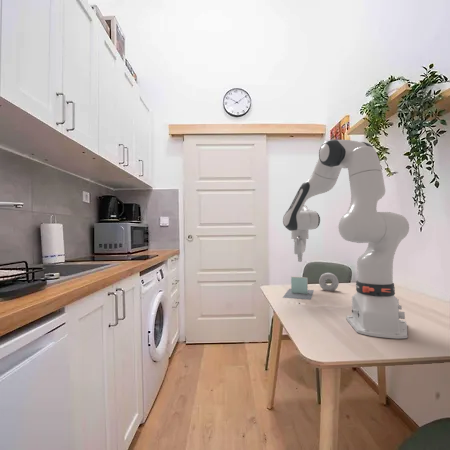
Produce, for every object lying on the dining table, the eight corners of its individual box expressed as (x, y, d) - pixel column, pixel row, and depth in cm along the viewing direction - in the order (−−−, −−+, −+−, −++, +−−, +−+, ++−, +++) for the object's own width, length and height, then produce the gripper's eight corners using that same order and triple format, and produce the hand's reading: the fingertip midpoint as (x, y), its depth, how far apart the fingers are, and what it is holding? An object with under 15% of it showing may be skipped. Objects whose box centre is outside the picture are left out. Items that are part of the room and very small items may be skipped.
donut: (318, 291, 150) (318, 272, 151) (319, 289, 153) (319, 271, 154) (338, 293, 145) (338, 273, 146) (339, 291, 148) (339, 272, 149)
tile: (307, 293, 142) (307, 277, 142) (291, 292, 145) (291, 277, 145) (307, 293, 143) (307, 277, 144) (291, 291, 146) (291, 276, 146)
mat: (310, 300, 130) (310, 299, 130) (282, 298, 134) (282, 297, 134) (313, 291, 150) (313, 290, 150) (289, 289, 155) (289, 288, 155)
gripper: (304, 236, 140) (304, 264, 140) (307, 235, 159) (307, 259, 159) (291, 236, 142) (291, 263, 142) (296, 235, 161) (296, 259, 161)
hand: (300, 261), depth 150 cm, fingers closed
